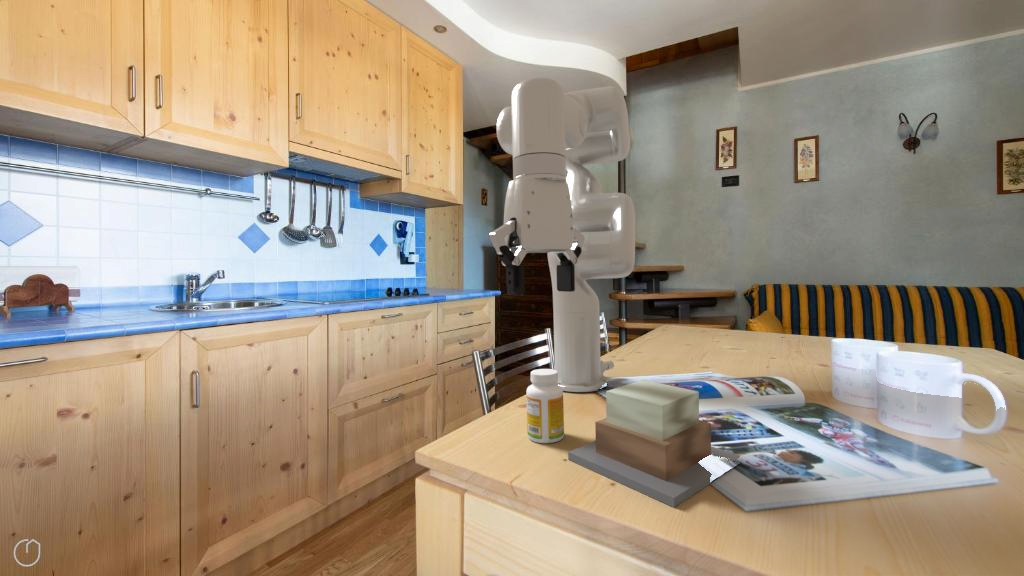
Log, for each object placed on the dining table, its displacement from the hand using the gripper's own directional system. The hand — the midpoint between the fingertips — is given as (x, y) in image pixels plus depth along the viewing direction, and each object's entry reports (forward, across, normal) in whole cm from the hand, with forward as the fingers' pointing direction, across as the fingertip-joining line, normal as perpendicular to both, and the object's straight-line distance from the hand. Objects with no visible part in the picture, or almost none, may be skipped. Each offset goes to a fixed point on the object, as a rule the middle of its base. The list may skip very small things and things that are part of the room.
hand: (541, 292), depth 63 cm
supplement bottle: (+21, 0, 0) cm, 21 cm away
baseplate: (+21, -5, +15) cm, 26 cm away
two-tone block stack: (+21, -5, +15) cm, 26 cm away
